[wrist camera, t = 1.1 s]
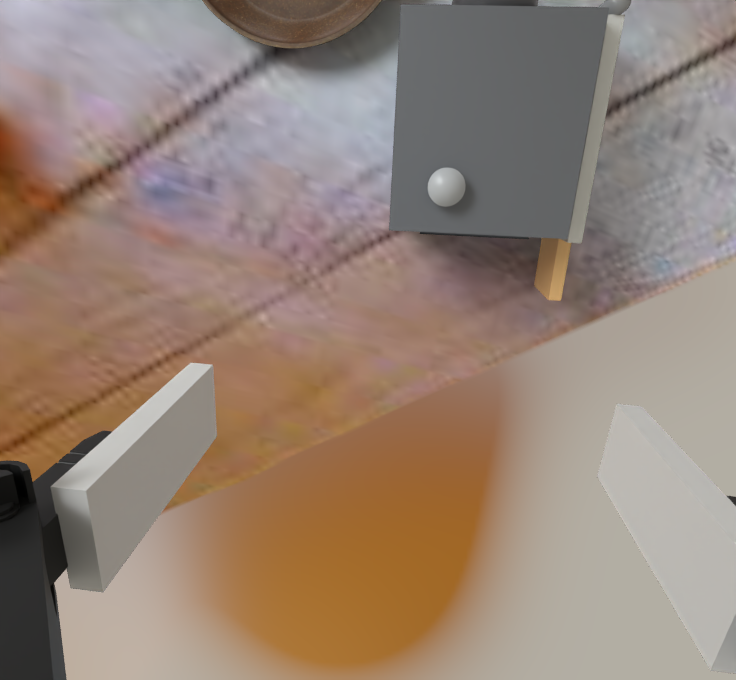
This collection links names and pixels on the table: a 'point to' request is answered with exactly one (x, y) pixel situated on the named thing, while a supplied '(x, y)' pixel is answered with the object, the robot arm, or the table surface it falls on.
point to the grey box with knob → (492, 116)
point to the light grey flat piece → (583, 162)
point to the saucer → (292, 19)
